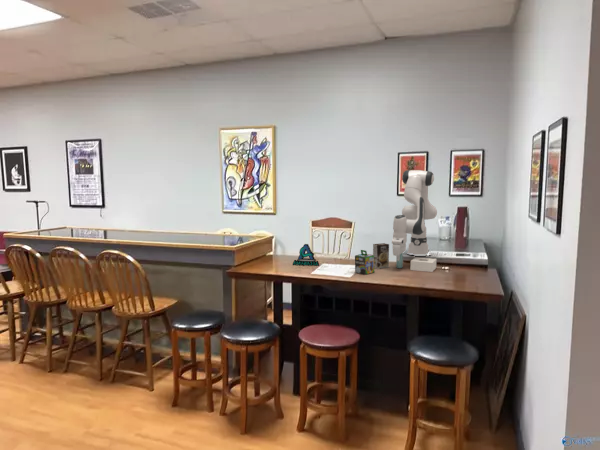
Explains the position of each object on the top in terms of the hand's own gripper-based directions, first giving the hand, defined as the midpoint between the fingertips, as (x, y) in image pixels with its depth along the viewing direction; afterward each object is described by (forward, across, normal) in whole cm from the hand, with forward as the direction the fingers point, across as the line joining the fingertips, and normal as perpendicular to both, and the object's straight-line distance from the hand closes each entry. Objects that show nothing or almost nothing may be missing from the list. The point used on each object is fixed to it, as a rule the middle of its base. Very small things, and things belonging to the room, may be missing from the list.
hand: (399, 259), depth 278 cm
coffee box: (+6, +3, -12) cm, 14 cm away
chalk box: (+6, +22, -17) cm, 29 cm away
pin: (+5, 0, 0) cm, 5 cm away
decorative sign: (+6, +17, -62) cm, 65 cm away
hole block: (+6, -4, +15) cm, 17 cm away
